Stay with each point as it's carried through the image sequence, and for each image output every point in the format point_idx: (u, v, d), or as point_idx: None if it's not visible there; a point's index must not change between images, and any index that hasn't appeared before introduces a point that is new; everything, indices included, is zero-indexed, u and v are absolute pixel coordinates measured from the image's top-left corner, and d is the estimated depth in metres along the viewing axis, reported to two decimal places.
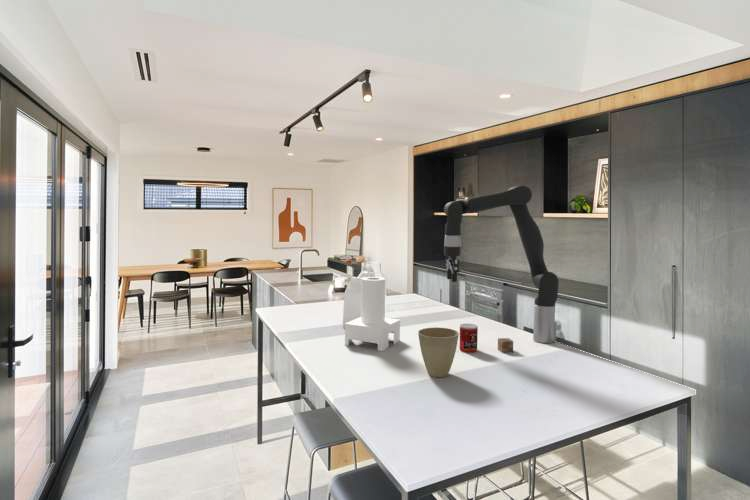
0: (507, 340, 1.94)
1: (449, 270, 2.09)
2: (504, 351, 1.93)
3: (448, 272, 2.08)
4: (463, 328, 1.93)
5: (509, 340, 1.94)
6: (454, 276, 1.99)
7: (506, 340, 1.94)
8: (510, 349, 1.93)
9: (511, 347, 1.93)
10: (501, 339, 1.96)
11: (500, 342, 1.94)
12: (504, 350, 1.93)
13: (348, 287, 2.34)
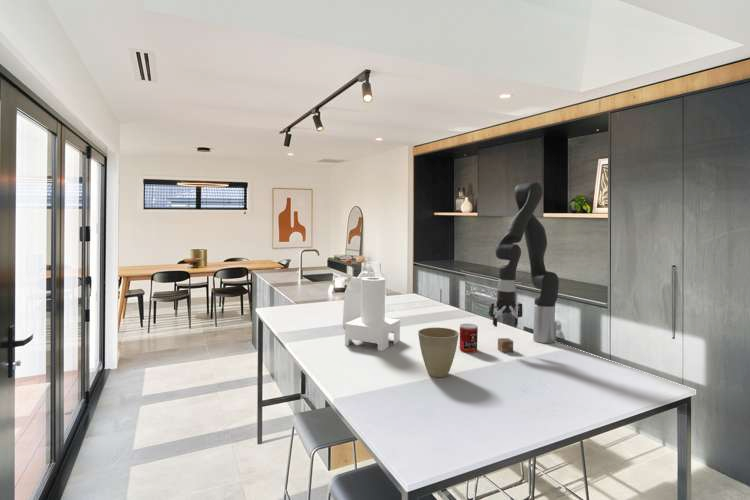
0: (507, 340, 1.94)
1: None
2: (504, 351, 1.93)
3: None
4: (463, 328, 1.93)
5: (509, 340, 1.94)
6: None
7: (506, 340, 1.94)
8: (510, 349, 1.93)
9: (511, 347, 1.93)
10: (501, 339, 1.96)
11: (500, 342, 1.94)
12: (504, 350, 1.93)
13: (348, 287, 2.34)
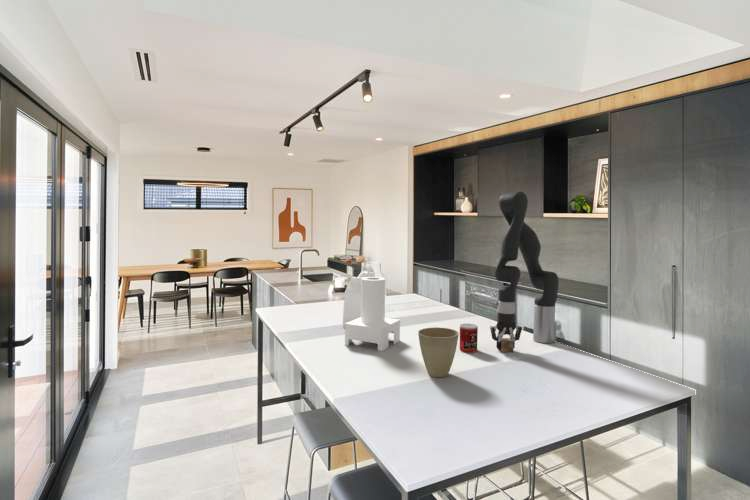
0: (507, 340, 1.94)
1: None
2: (504, 350, 1.93)
3: None
4: (463, 328, 1.93)
5: (509, 340, 1.94)
6: None
7: (506, 340, 1.94)
8: (510, 349, 1.93)
9: (511, 347, 1.93)
10: (501, 339, 1.95)
11: None
12: (504, 350, 1.93)
13: (348, 287, 2.34)
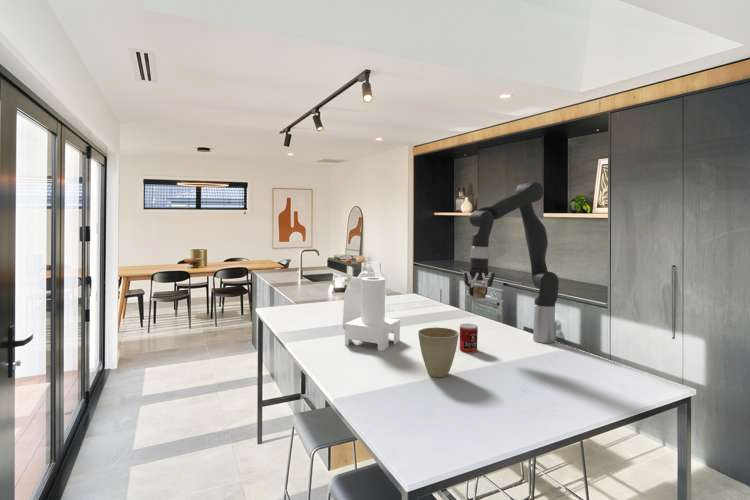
0: (480, 286, 1.92)
1: None
2: (476, 296, 1.91)
3: None
4: (463, 328, 1.93)
5: (482, 286, 1.92)
6: None
7: (479, 286, 1.92)
8: (482, 294, 1.91)
9: (483, 293, 1.91)
10: (474, 285, 1.94)
11: (473, 288, 1.93)
12: (476, 295, 1.91)
13: (348, 287, 2.34)
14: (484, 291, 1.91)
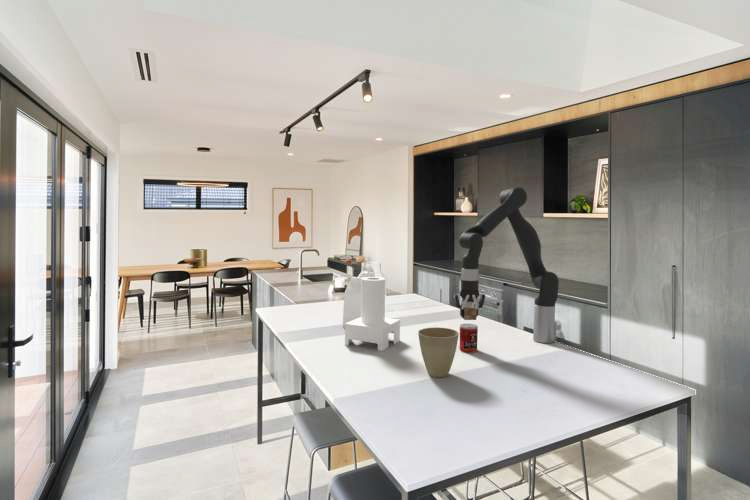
0: (470, 308, 1.93)
1: None
2: (467, 318, 1.92)
3: None
4: (463, 328, 1.93)
5: (472, 307, 1.94)
6: None
7: (469, 307, 1.94)
8: (473, 316, 1.92)
9: (474, 314, 1.92)
10: (465, 307, 1.95)
11: None
12: (467, 317, 1.92)
13: (348, 287, 2.34)
14: (475, 313, 1.92)
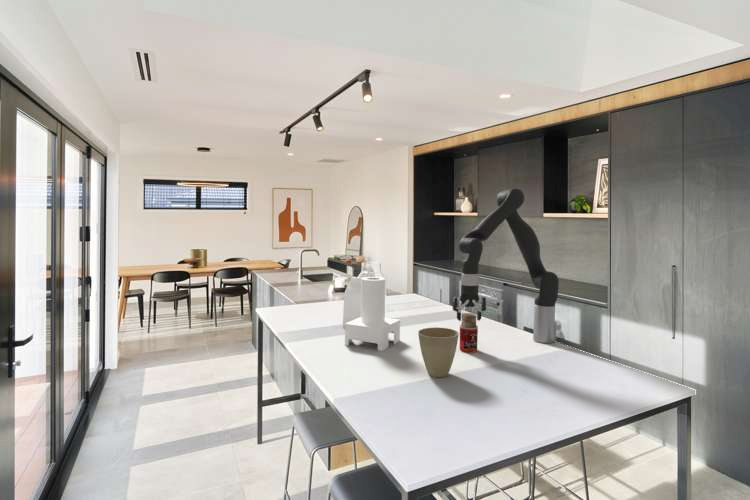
0: (470, 315, 1.93)
1: None
2: (467, 325, 1.92)
3: None
4: (463, 328, 1.93)
5: (472, 314, 1.94)
6: None
7: (469, 314, 1.94)
8: (473, 323, 1.93)
9: (474, 321, 1.93)
10: (464, 314, 1.95)
11: (463, 316, 1.94)
12: (467, 324, 1.92)
13: (348, 287, 2.34)
14: (475, 320, 1.93)
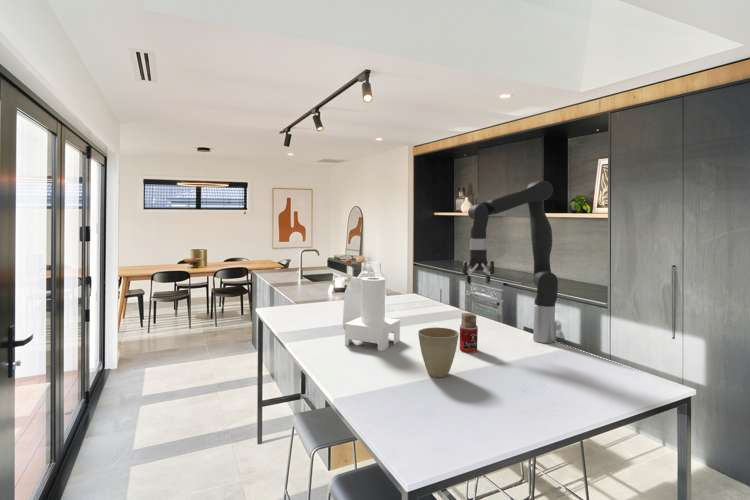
0: (470, 315, 1.93)
1: None
2: (467, 325, 1.92)
3: None
4: (463, 328, 1.93)
5: (472, 314, 1.94)
6: None
7: (469, 314, 1.94)
8: (473, 323, 1.93)
9: (474, 321, 1.93)
10: (464, 314, 1.95)
11: (463, 317, 1.94)
12: (467, 324, 1.92)
13: (348, 287, 2.34)
14: (475, 320, 1.93)
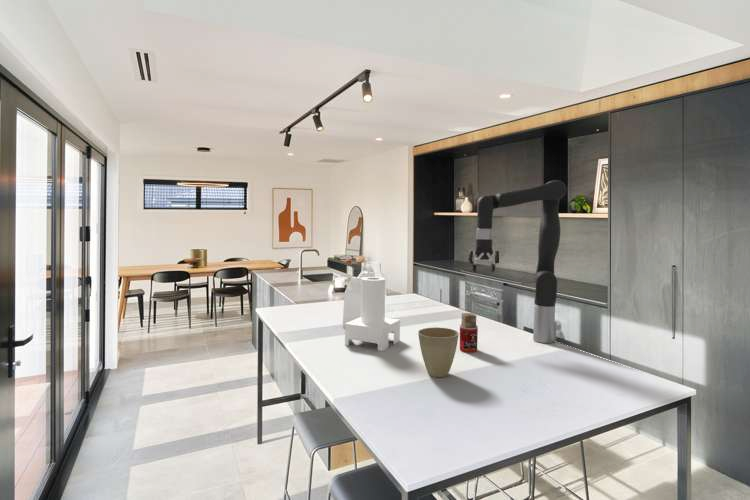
0: (470, 315, 1.93)
1: None
2: (467, 325, 1.92)
3: None
4: (463, 328, 1.93)
5: (472, 314, 1.94)
6: None
7: (469, 314, 1.94)
8: (473, 323, 1.93)
9: (474, 321, 1.93)
10: (464, 314, 1.95)
11: (463, 317, 1.94)
12: (467, 324, 1.92)
13: (348, 287, 2.34)
14: (475, 320, 1.92)
